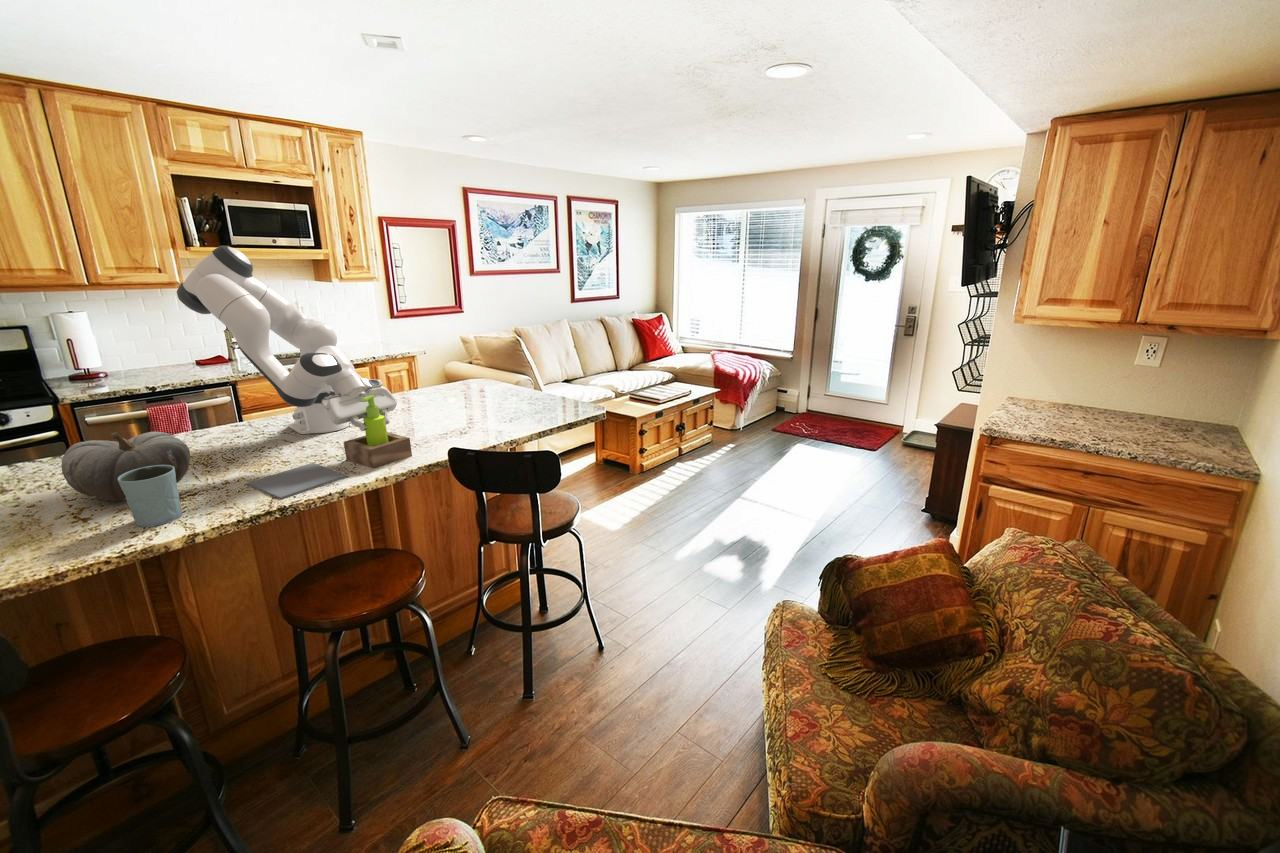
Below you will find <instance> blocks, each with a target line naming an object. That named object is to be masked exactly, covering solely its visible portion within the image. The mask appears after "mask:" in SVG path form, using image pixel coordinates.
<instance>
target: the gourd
mask: <svg viewBox="0 0 1280 853" xmlns="http://www.w3.org/2000/svg"><path fill="white" fill-rule="evenodd" d="M111 437H112V438H113V439H114V440H105V439H104V440H103V439H102V440H94V439H93V440H86V441H80V442H76V443H73V444H72V445H71V446H69V447H68V449H67V450H66V452H65V453H64V454H63V456H62V458H61V465H60V466H61V473H62V475H63V477H64V479H65V481H66V482H67V484H68V485H69V487H71V488H72V489H74V490H75V491H76V492H77V493H79V494H82V495H85V496H87V497H91V498H96V499H99V500H105V501H111V502H117V501H122V500H127V499H126V496H125V495H124V492H123V490H122V489H121V486H120V484H119V482H118V477H119V476H120V475H122V474H124V473H126V472H128V471H131V470H134V469H138V468H142V467H147V466H154V465H171V466H173V467H174V468H175V474H176V483H177V484H178V483H179V482H180V481H182V480H183V478H184V477H185V475H186V474H187V473H188V471H189V468H190V465H191V464H190V462H191V461H190V460H191V451H190V448H189V447H188V445H187V443H185V442H184V441H183V440H181V439H179V438H177V437H176V436H173V435H172V434H170V433H167V432H163V431H149V432H144V433H141V434H139V435H135V436H132V437H131V438H129V439H126V438H124V437H123V436H121V435H120V434H119V433H118V432H113V433H111ZM115 440H116V441H115Z"/></svg>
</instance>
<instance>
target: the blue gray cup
mask: <svg viewBox="0 0 1280 853" xmlns="http://www.w3.org/2000/svg"><path fill="white" fill-rule="evenodd" d="M118 482H119V484H120V486H121V489H122V490H123V492H124V495H125V496H126V499H125V500H126V503H127V504H128V507H129V510H130V513H131V515H132V518H133V520H134V522H135V524H136V525H137V526H138V527H140V528H141V527H142V528H151V527H157V526H163V525H165V524H168V523H172V522H173V521H176V520H178V519H180V518H181V517H182V516H183V509H182V505H181V501H180V495H179V488H178V483H176V474H175V468H174V467H173V466H171V465H154V466H147V467H142V468H138V469H134V470H131V471H128V472H126V473H124V474H122V475H120V476H119V477H118Z"/></svg>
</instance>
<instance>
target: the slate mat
mask: <svg viewBox="0 0 1280 853" xmlns="http://www.w3.org/2000/svg"><path fill="white" fill-rule="evenodd" d="M345 478H348V474H346V473H343V472H340V471H337V470H335V469H332V468H329V467H326V466H323V465H320V464H318V463H314V462H311V463H308V464H304V465H301V466H298V467H295V468H291V469H287V470H284V471H282V472H278V473H275V474H271V475H268V476H264V477H262V478H258V479H255V480H251V481H248V482H246V485H247V486H248V487H251V488H254V489H255V488H256V489H255V490H258V491H260V492H263V493H265V494H267V495H269V494H270V496H271V497H275V498H276V499H279V500H284V499H286V498H289V497H293V496H295V495H299V494H300V493H304V492H307V491H310V490H313V489H316V488H318V487H321V486H325V485H327V484H331V483H333V482H336V481H339V480H342V479H345Z"/></svg>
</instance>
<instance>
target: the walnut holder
mask: <svg viewBox="0 0 1280 853" xmlns="http://www.w3.org/2000/svg"><path fill="white" fill-rule="evenodd" d="M387 436H388V442H387V443H384V444H381V445H378V446H374V447H372V446H369V445H368V444H367V438H366V434H365V435H363V436H359V437H355V438H352V439H348V440H345V441H343V447H344V454H345V459H346V461H348V462H351V463H353V464H356V465H359V466H364V467H367V468H370V469H372V470H375V469H379V468H382V467H384V466H386V465H387V466H388V465H390V464H393V463H397V462H399V461H402V460H405V459H407V458H411V457H412V456H413V454H412V452H413V451H412V447H411V446H412V444H411V438H410V437H407V436H404V435H401V434H397V433H396V434H395V433H393V432H388V431H387Z"/></svg>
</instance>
